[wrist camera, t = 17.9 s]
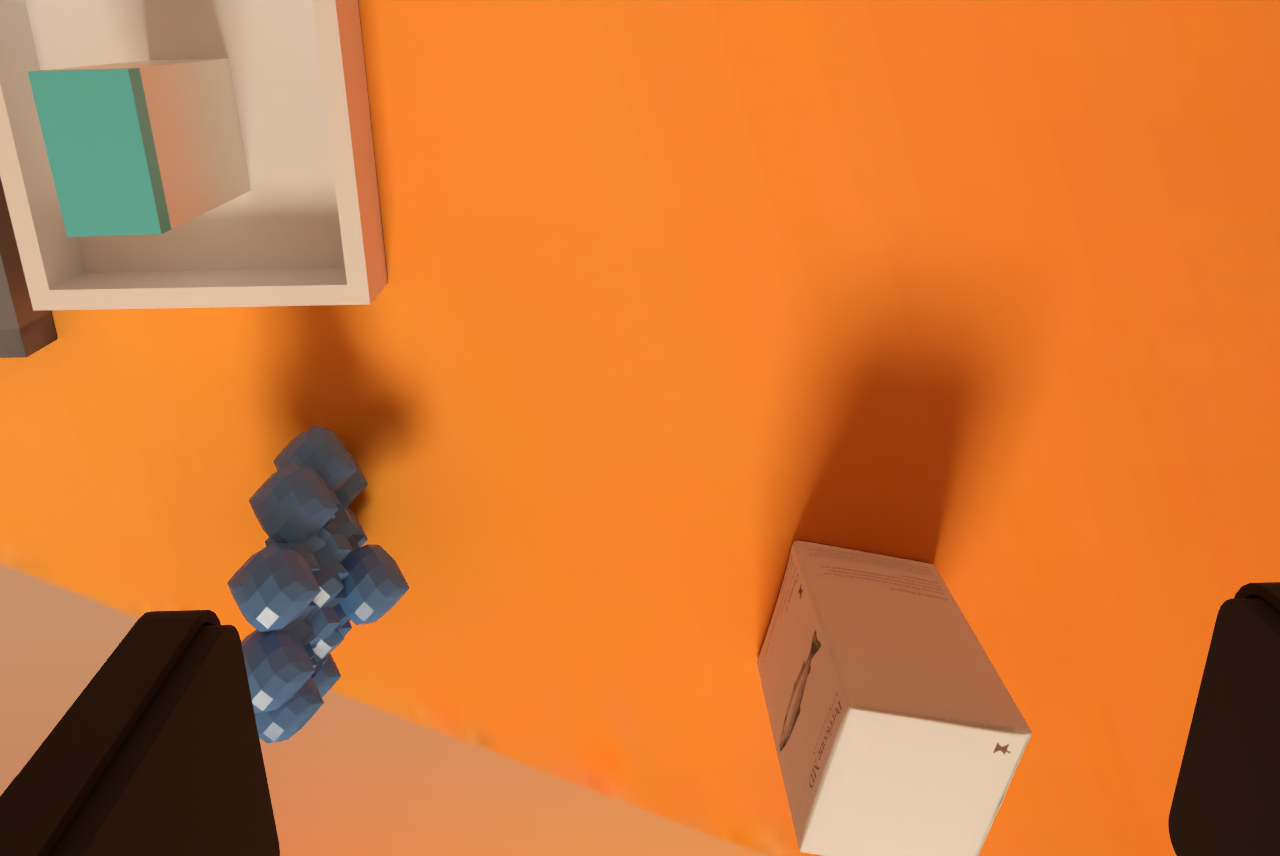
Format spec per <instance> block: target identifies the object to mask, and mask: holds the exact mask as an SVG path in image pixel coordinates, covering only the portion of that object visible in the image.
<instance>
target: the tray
mask: <svg viewBox="0 0 1280 856" xmlns="http://www.w3.org/2000/svg"><path fill="white" fill-rule="evenodd" d="M218 58H229V63H230V69H231V75H232V81H233V87H234V93H235V99H236V105H237V111H238V117H239V123H240V129H241V135H242V141H243V147H244V153H245V159H246V165H247V171H248V177H249V183H250V189H251V191H249V192H247V193H245V194H243V195H241V196H239V197H237V198H235V199H233V200H231V201H229V202H227V203H224V204H222V205H220V206H218V207H216V208H214V209H212V210H210V211H208V212H206V213H204V214H202V215H200V216H198V217H196V218H194V219H192V220H190V221H188V222H186V223H184V224H181V225H179V226H177V227H175V228H173V229H171V230H169V231H167V232H165V233H163V234H153V235H118V236H84V237H67V235H66V231H65V226H64V222H63V218H62V214H61V210H60V205H59V201H58V197H57V193H56V189H55V184H54V180H53V176H52V172H51V168H50V163H49V159H48V155H47V151H46V147H45V143H44V138H43V134H42V130H41V126H40V122H39V117H38V113H37V109H36V105H35V101H34V96H33V92H32V88H31V84H30V80H29V75H28V72H29V71H40V70H51V69H61V68H72V67H83V66H93V65H104V64H115V63H125V62H136V61H147V60H178V59H218ZM0 177H1V181H2V185H3V189H4V194H5V198H6V202H7V206H8V210H9V214H10V218H11V222H12V226H13V230H14V234H15V238H16V242H17V247H18V251H19V255H20V259H21V263H22V267H23V271H24V275H25V279H26V283H27V287H28V291H29V296H30V300H31V304H32V308H33V311H38V310H93V309H148V308H203V307H258V306H313V305H368V304H371V303H372V302H373V300H374V299H375V298H376V297H377V296H378V294H379V293H380V292H381V291H382V289H383V288H384V287H385V286H386V285H387V283H388V278H387V268H386V259H385V250H384V240H383V231H382V222H381V212H380V203H379V194H378V184H377V175H376V165H375V156H374V147H373V137H372V128H371V119H370V109H369V100H368V91H367V81H366V72H365V62H364V53H363V44H362V34H361V25H360V16H359V6H358V0H0Z"/></svg>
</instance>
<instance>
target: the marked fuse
mask: <svg viewBox="0 0 1280 856" xmlns="http://www.w3.org/2000/svg"><path fill="white" fill-rule="evenodd" d="M28 75H29V80H30V84H31V88H32V92H33V96H34V101H35V105H36V109H37V113H38V117H39V122H40V126H41V130H42V134H43V138H44V143H45V147H46V151H47V155H48V159H49V163H50V168H51V172H52V176H53V180H54V184H55V189H56V193H57V197H58V201H59V205H60V210H61V214H62V218H63V222H64V226H65V231H66V235H67V237H84V236H118V235H153V234H163V233H165V232H167V231H169V230H171V229H173V228H175V227H177V226H179V225H181V224H184V223H186V222H188V221H190V220H192V219H194V218H196V217H198V216H200V215H202V214H204V213H206V212H208V211H210V210H212V209H214V208H216V207H218V206H220V205H222V204H224V203H227V202H229V201H231V200H233V199H235V198H237V197H239V196H241V195H243V194H245V193H247V192H249V191H251V189H250V183H249V177H248V171H247V165H246V159H245V153H244V147H243V141H242V135H241V129H240V123H239V117H238V111H237V105H236V99H235V93H234V87H233V81H232V75H231V69H230V63H229V58H218V59H178V60H147V61H136V62H125V63H115V64H104V65H93V66H83V67H72V68H61V69H51V70H40V71H29V72H28Z"/></svg>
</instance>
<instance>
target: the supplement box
mask: <svg viewBox="0 0 1280 856" xmlns="http://www.w3.org/2000/svg"><path fill="white" fill-rule="evenodd" d="M757 664H758V669H759V673H760V678H761V682H762V688H763V692H764V696H765V701H766V706H767V710H768V714H769V719H770V723H771V728H772V732H773V737H774V741H775V746H776V750H777V754H778V759H779V763H780V767H781V772H782V776H783V780H784V784H785V789H786V793H787V797H788V801H789V806H790V811H791V815H792V820H793V824H794V828H795V832H796V837H797V841H798V847H799V850H800V851H801V852H803V853H810V854H817V855H824V856H979V853H980V850H981V848H982V846H983V844H984V841H985V839H986V837H987V835H988V832H989V830H990V828H991V825H992V823H993V821H994V818H995V816H996V814H997V812H998V810H999V808H1000V806H1001V804H1002V801H1003V799H1004V796H1005V793H1006V791H1007V789H1008V786H1009V784H1010V782H1011V779H1012V777H1013V775H1014V772H1015V770H1016V768H1017V766H1018V763H1019V761H1020V759H1021V757H1022V754H1023V752H1024V750H1025V747H1026V745H1027V743H1028V741H1029V739H1030V737H1031V735H1032V733H1031V730H1030V728H1029V726H1028V725H1027V723H1026V721H1025V719H1024V718H1023V716H1022V714H1021V713H1020V711H1019V709H1018V707H1017V706H1016V704H1015V702H1014V701H1013V699H1012V697H1011V695H1010V694H1009V692H1008V690H1007V689H1006V687H1005V685H1004V684H1003V682H1002V680H1001V678H1000V677H999V675H998V673H997V672H996V670H995V668H994V666H993V665H992V663H991V661H990V660H989V658H988V656H987V654H986V653H985V651H984V649H983V647H982V646H981V644H980V642H979V641H978V639H977V637H976V635H975V634H974V632H973V630H972V629H971V627H970V625H969V624H968V622H967V620H966V619H965V617H964V615H963V614H962V612H961V610H960V608H959V607H958V605H957V603H956V601H955V600H954V598H953V596H952V595H951V593H950V591H949V589H948V588H947V586H946V584H945V583H944V581H943V579H942V577H941V576H940V574H939V572H938V571H937V569H936V567H935V565H934V564H929V563H925V562H919V561H914V560H908V559H903V558H897V557H891V556H886V555H881V554H875V553H869V552H863V551H858V550H852V549H846V548H841V547H835V546H829V545H823V544H818V543H812V542H805V541H794V542H793V544H792V548H791V553H790V557H789V561H788V565H787V569H786V572H785V576H784V580H783V583H782V587H781V590H780V594H779V597H778V600H777V603H776V607H775V610H774V613H773V616H772V619H771V622H770V625H769V628H768V632H767V635H766V638H765V641H764V643H763V646H762V649H761V652H760V655H759V657H758V660H757Z"/></svg>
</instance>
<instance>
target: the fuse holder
mask: <svg viewBox="0 0 1280 856" xmlns="http://www.w3.org/2000/svg"><path fill="white" fill-rule="evenodd" d="M55 340H57V334H56V330H55V326H54V322H53V318H52V314H51V310H38V311H33V308H32V304H31V300H30V296H29V291H28V287H27V283H26V279H25V275H24V271H23V267H22V263H21V259H20V255H19V251H18V247H17V242H16V238H15V234H14V230H13V226H12V222H11V218H10V214H9V210H8V206H7V202H6V198H5V194H4V189H3V185H2V181H1V177H0V358H10V357H28V356H29V355H31V354H33V353H34V352H36V351H38V350H40V349H41V348H43V347H45V346H46V345H48V344H50V343H52V342H53V341H55Z"/></svg>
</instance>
